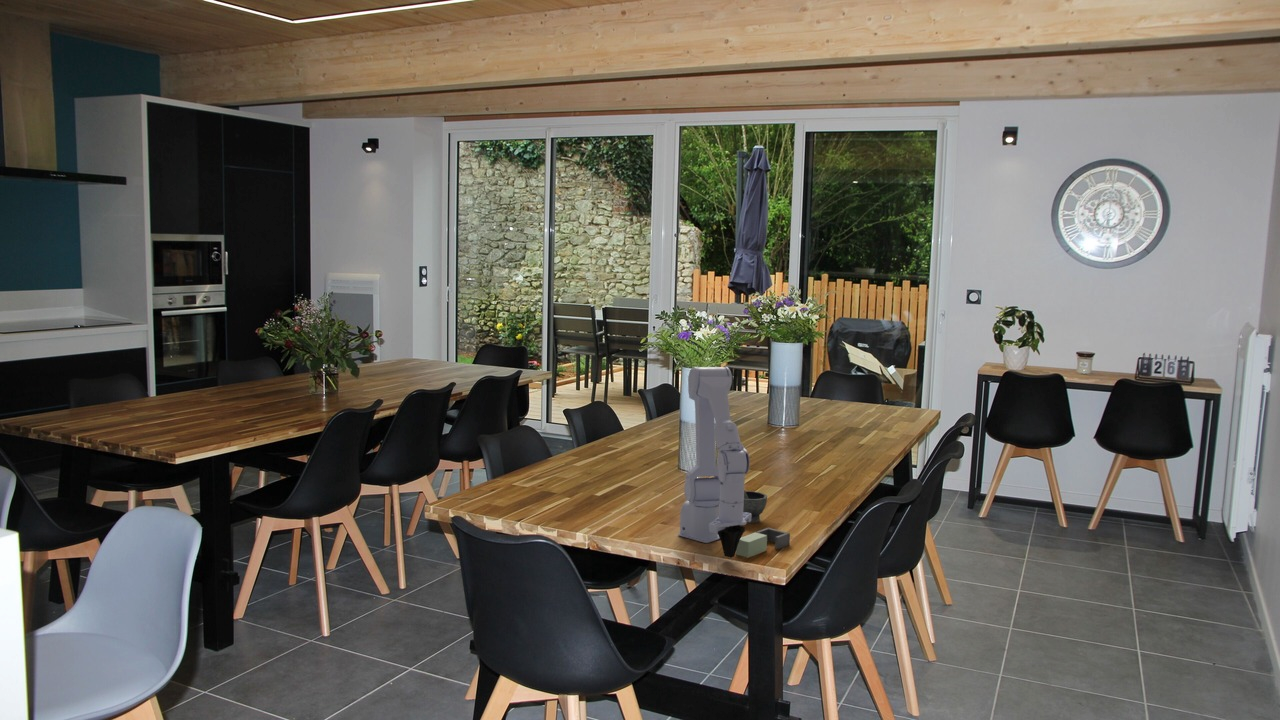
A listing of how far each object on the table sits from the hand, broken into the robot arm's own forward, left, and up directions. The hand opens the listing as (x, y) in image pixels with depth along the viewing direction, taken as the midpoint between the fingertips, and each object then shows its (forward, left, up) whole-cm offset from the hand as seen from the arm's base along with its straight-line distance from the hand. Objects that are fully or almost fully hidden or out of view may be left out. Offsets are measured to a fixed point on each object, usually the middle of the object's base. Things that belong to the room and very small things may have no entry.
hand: (729, 556), depth 223 cm
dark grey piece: (0, +19, -1) cm, 19 cm away
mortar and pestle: (-18, +33, -1) cm, 37 cm away
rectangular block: (0, +9, -1) cm, 9 cm away
